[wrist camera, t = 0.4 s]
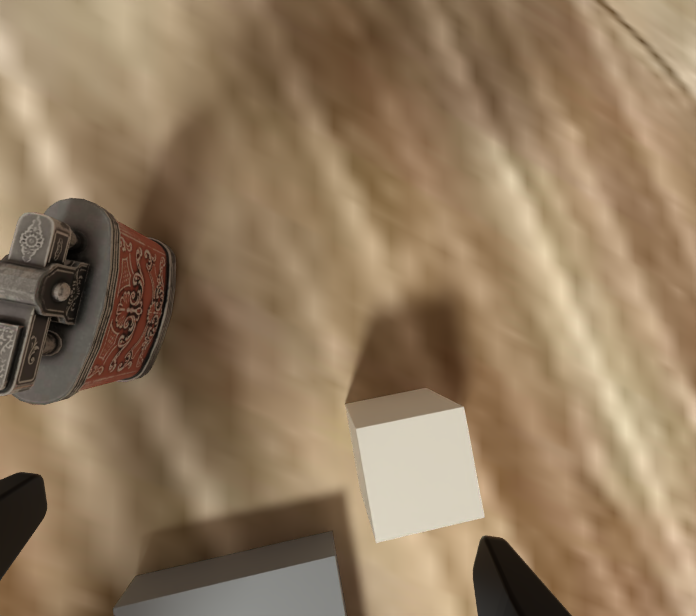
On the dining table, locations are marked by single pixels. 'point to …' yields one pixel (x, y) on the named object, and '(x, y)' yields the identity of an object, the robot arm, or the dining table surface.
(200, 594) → the grey square slab
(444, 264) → the dining table surface
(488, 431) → the dining table surface
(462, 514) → the cream block
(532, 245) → the dining table surface
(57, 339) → the lighter
